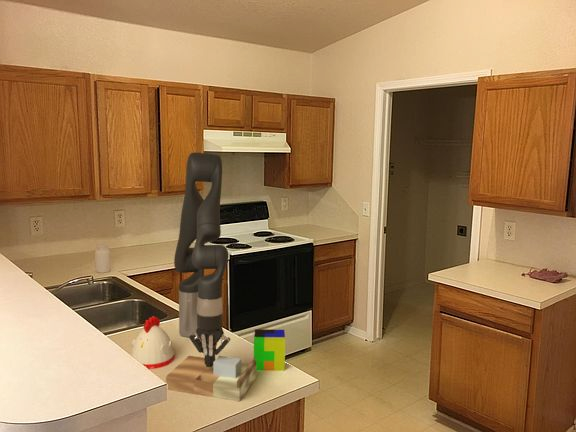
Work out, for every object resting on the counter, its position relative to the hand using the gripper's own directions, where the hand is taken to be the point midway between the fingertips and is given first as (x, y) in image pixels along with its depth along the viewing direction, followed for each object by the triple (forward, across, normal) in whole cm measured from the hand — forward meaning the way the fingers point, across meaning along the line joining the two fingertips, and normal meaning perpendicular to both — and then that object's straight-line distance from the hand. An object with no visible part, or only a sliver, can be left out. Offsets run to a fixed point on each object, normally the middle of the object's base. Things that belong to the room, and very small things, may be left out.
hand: (209, 366), depth 146 cm
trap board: (+6, -1, 0) cm, 6 cm away
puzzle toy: (+6, -13, -18) cm, 23 cm away
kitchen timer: (+6, +25, -9) cm, 27 cm away
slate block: (+2, -6, 0) cm, 6 cm away
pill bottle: (+6, +109, -100) cm, 148 cm away
